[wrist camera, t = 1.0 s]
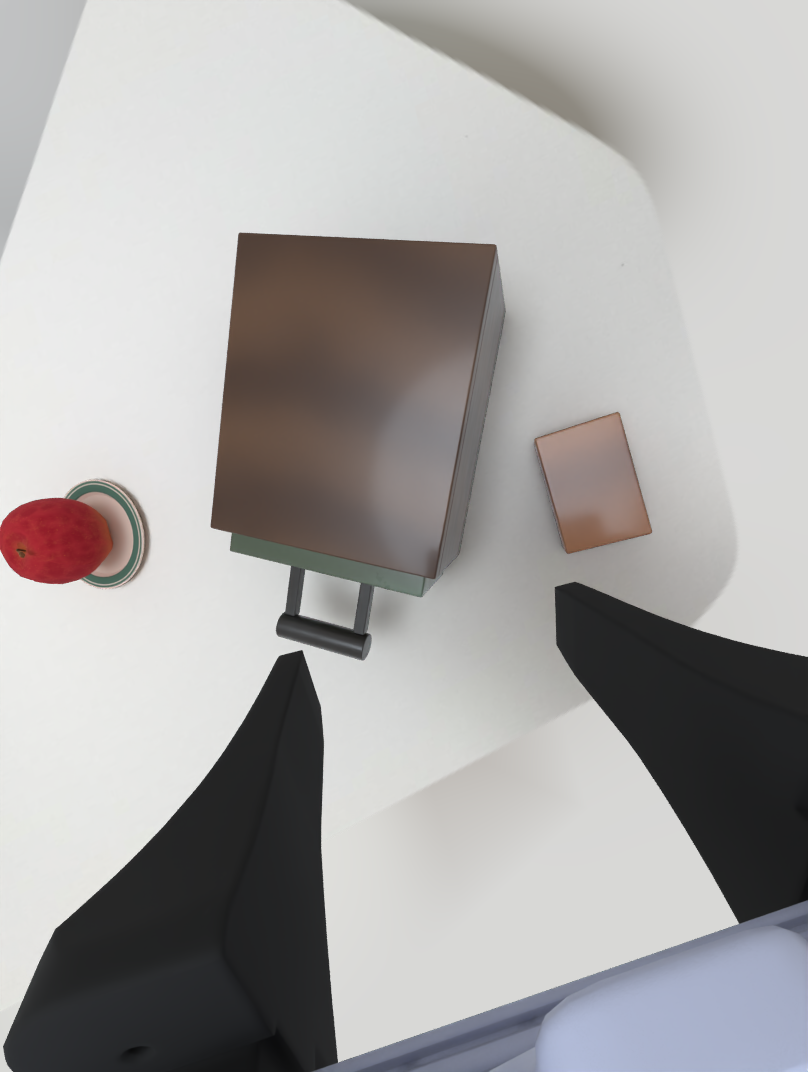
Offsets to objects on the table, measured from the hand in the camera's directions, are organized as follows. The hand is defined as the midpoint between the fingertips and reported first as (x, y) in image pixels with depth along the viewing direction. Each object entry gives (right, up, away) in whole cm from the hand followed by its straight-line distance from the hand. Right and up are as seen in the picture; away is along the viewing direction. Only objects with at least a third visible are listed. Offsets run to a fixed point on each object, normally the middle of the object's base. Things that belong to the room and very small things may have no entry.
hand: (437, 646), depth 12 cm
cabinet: (-2, +10, +14) cm, 17 cm away
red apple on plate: (-23, +3, +21) cm, 31 cm away
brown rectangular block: (+9, +6, +12) cm, 16 cm away
